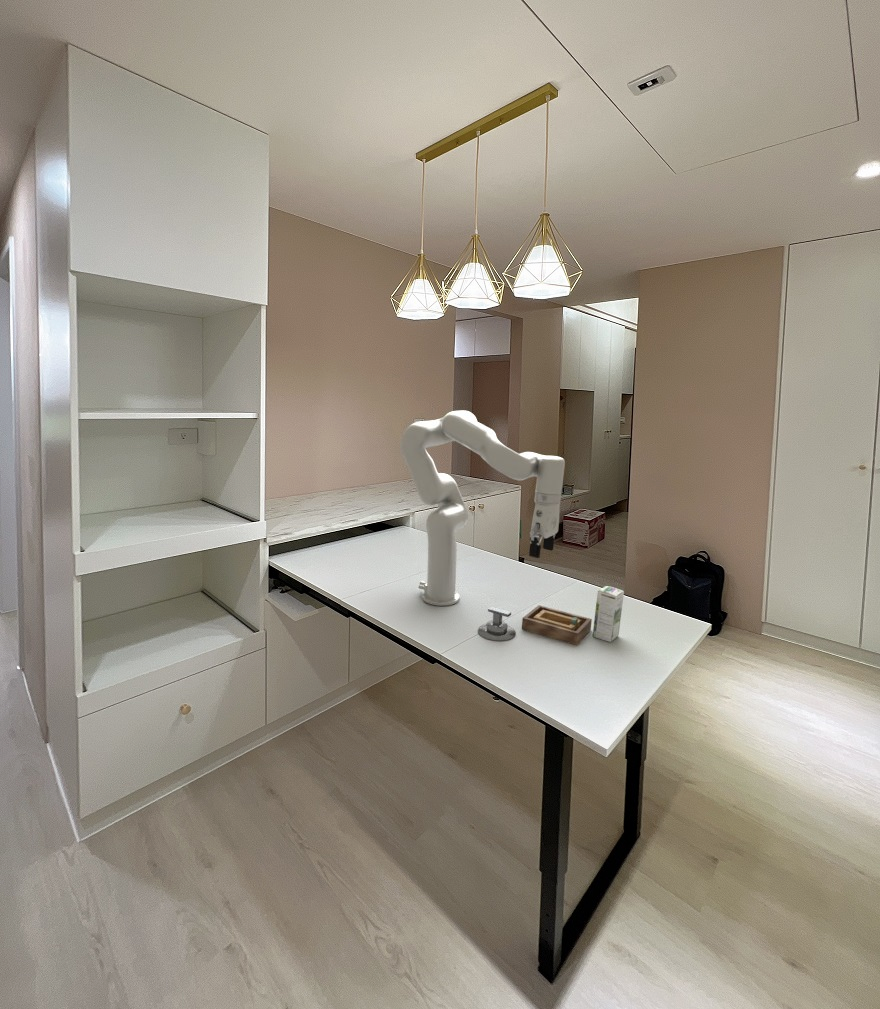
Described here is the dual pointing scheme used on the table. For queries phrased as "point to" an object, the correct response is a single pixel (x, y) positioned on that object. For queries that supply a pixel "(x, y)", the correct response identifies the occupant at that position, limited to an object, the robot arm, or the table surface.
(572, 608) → the table surface
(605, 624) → the syrup box
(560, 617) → the light wooden frame
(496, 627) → the door handle
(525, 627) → the tray
